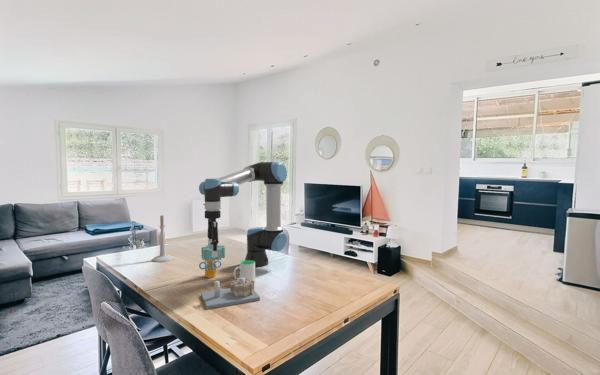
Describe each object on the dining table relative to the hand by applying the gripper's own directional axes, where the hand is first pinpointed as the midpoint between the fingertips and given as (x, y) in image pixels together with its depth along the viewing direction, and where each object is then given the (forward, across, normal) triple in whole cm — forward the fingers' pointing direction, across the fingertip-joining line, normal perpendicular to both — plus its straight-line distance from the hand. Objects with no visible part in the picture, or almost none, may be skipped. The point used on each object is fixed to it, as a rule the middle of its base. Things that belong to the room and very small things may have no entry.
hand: (212, 254), depth 163 cm
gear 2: (+17, +11, +12) cm, 24 cm away
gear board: (+19, +11, +6) cm, 22 cm away
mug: (+19, -8, +18) cm, 27 cm away
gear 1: (+2, 0, 0) cm, 2 cm away
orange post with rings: (+19, -24, +2) cm, 31 cm away
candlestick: (+19, -72, -22) cm, 77 cm away
